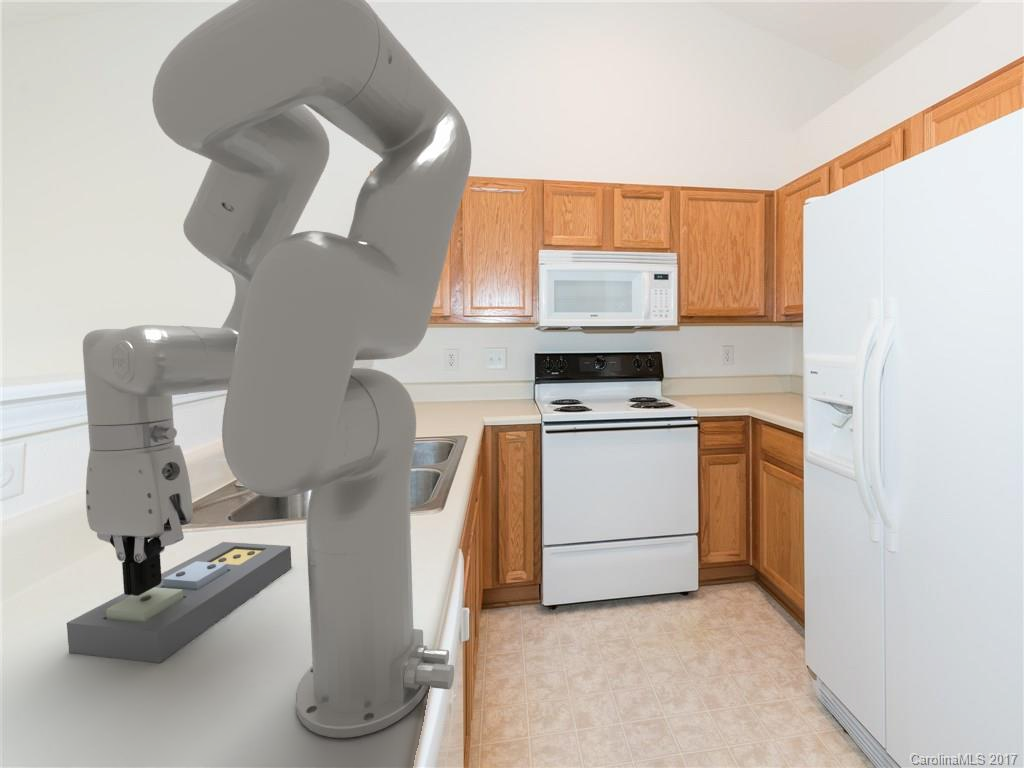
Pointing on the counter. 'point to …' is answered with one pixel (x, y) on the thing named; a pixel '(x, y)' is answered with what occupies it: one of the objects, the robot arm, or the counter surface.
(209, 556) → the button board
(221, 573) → the tile two
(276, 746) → the counter surface
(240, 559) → the tile three
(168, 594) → the tile one
